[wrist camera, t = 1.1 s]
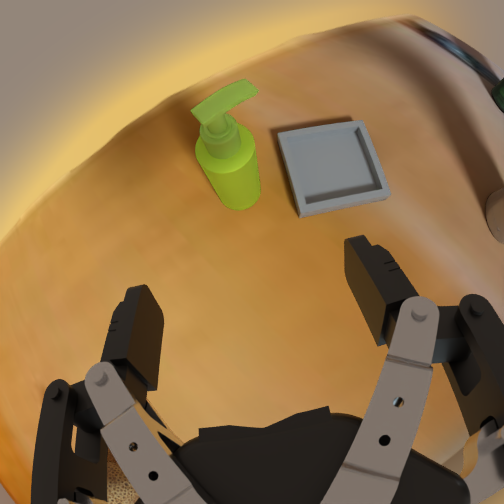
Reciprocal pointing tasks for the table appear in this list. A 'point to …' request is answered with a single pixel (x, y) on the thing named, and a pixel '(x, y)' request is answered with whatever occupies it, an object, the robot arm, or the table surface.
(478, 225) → the table surface
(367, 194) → the tray
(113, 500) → the natural sponge
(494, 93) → the coffee jar
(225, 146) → the soap dispenser
